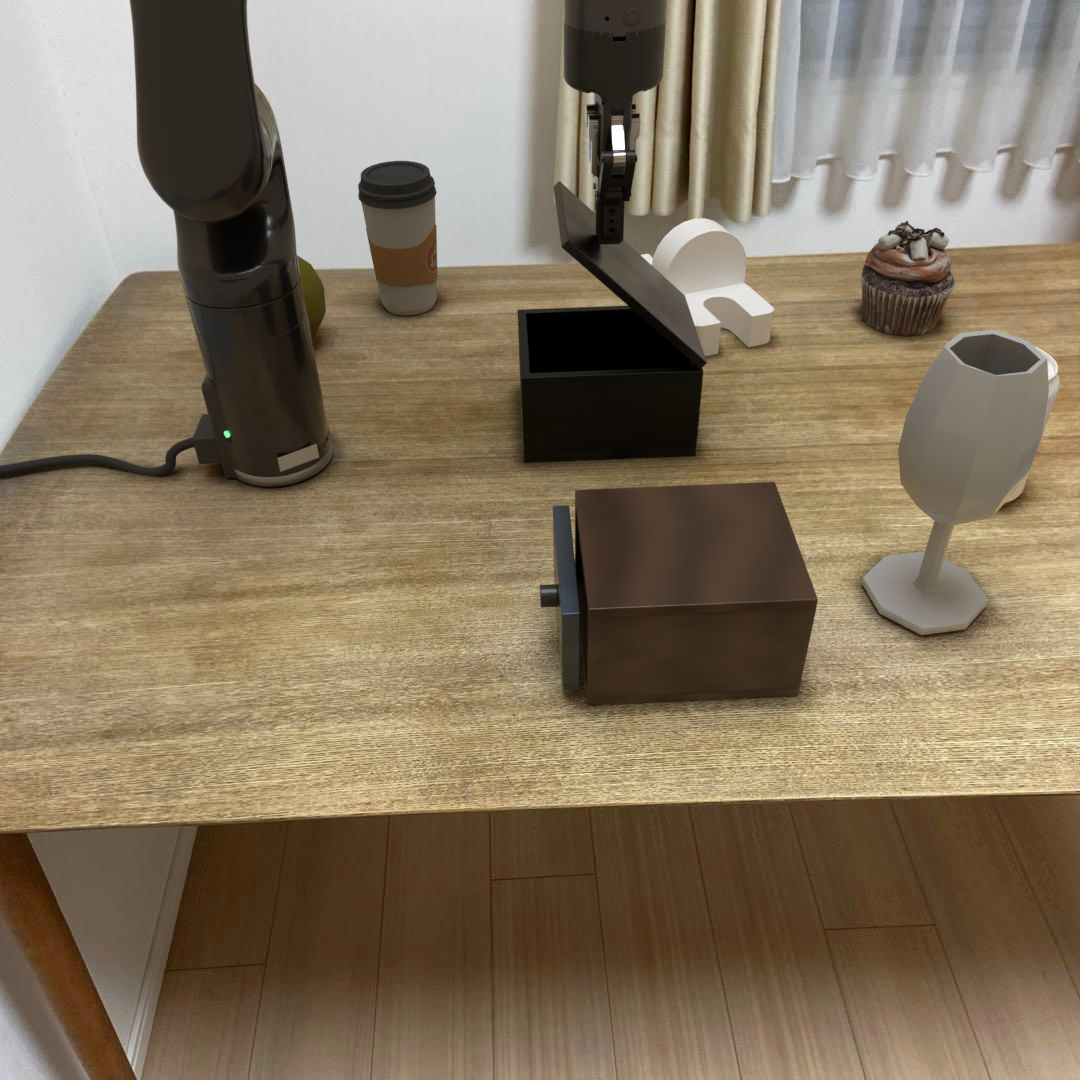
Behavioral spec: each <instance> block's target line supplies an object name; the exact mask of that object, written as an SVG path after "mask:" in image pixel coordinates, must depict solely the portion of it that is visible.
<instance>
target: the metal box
mask: <svg viewBox="0 0 1080 1080" xmlns="http://www.w3.org/2000/svg"><path fill="white" fill-rule="evenodd" d="M516 311H517V332H518V333H517V334H518V337H517V338H518V360H519V362H518V363H519V387H520V408H521V409H520V410H521V426H522V448H523V449H522V450H523V463H543V462H570V461H595V460H619V459H621V460H622V459H642V458H643V459H645V458H666V457H669V458H670V457H692V456H696V454H697V445H698V432H699V425H700V423H699V422H700V413H701V404H702V403H701V401H702V390H703V379H704V369H703V368H704V367H702V368H701V369H700V368H699V367H698V366H696V365H695V364H694V363H693V362H692V361H691V360H690V359H688V358H687V357H686V356H685V355H684V354H683V353H682V352H680V351H679V350H678V349H677V348H676V347H675V346H674V345H672V344H671V343H670V342H669V341H668V340H667V339H666V338H665V337H663V336H662V335H661V334H660V333H659V332H658V331H657V330H655V329H654V328H653V327H652V326H651V325H650V324H649V323H647V322H646V321H645V320H644V319H643V318H642V317H641V316H639V315H638V314H637V313H636V312H635V311H634V310H633V309H631V308H630V307H629V306H628V305H627V304H626V305H605V306H603V305H602V306H579V307H578V306H577V307H552V308H551V307H550V308H548V307H547V308H527V309H526V308H525V309H517V310H516Z"/></svg>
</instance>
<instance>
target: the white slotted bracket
mask: <svg viewBox="0 0 1080 1080" xmlns="http://www.w3.org/2000/svg"><path fill="white" fill-rule="evenodd" d="M640 255H641V256H642V257H643V258H644V259H645V260H646V261H648V262H649V263H650V264H651V265H652V266H653V267H654V268H655V269H656V270H657V271H658V272H660V273H661V274H662V275H663V276H664V277H665V278H666V279H667V280H668V281H669V282H670V283H672V284H673V285H674V286H675V287H676V288H677V289H678V290H679V291H680V292H681V293H682V294H684V295H685V298H686V301H687V304H688V307H689V310H690V313H691V316H692V319H693V322H694V325H695V328H696V331H697V334H698V337H699V340H700V343H701V346H702V349H703V352H704V355H705V357H709V356H710V357H711V356H714V355H718V354H719V347H720V337H721V329H726V330H728V331H730V332H731V333H733V334H734V335H735V336H736V337H737V338H738V339H739V340H740V341H741V342H742V343H743V344H744V345H745V346H746V347H747V348H753V347H758V346H763V345H766V344H768V343H769V342H770V340H771V332H772V326H773V319H774V318H773V317H774V311H775V309H774V306H772V305H771V304H770V303H769V302H768V301H766V300H765V299H764V297H762V296H761V295H760V294H759V293H757V292H756V291H755V290H754V289H753V288H752V287H750V286H749V285H748V284H747V283H745V282H746V273H747V255H746V251H745V247H744V246H743V244H742V242H741V241H740V240H739V239H738V238H737V237H736V236H735V235H734V234H732V232H730V231H729V230H727V229H726V228H725V227H724V226H722V225H721V224H720V223H718V222H717V221H715V220H712V219H709V218H706V217H705V218H704V217H703V218H701V217H700V218H692V219H689V220H685V221H683V222H681V223H679V224H678V225H676V226H675V227H672V229H671V230H670V231H669V232H668V233H667V234H666V235H664V237H663V238H662V240H660V243H659V244H658V245H657V248H656V250H655V252H654V254H653V257H652V255H650V254H649V253H644V254H640Z"/></svg>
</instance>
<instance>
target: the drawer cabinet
mask: <svg viewBox="0 0 1080 1080" xmlns="http://www.w3.org/2000/svg"><path fill="white" fill-rule="evenodd" d="M574 558H575V568H576V578H577V588H578V597H579V607H580V651H581V660H582V669H583V679H584V688H585V700H586V705H587V706H598V705H600V706H601V705H621V704H640V703H641V704H643V703H645V704H646V703H666V702H688V701H708V700H709V701H711V700H731V699H753V698H776V697H797V696H799V693H800V689H801V683H802V678H803V674H804V669H805V664H806V659H807V654H808V651H809V645H810V640H811V636H812V631H813V627H814V622H815V617H816V612H817V607H818V603H819V598H818V595H817V593H816V590H815V588H814V587H815V586H814V584H813V582H812V580H811V579H812V578H811V576H810V573H809V571H808V568H807V566H806V563H805V560H804V558H803V555H802V552H801V549H800V547H799V544H798V541H797V538H796V535H795V533H794V529H793V527H792V524H791V522H790V519H789V517H788V513H787V512H786V508H785V506H784V503H783V500H782V498H781V495H780V491H779V489H778V487H777V484H776V482H775V481H760V482H759V481H757V482H739V483H737V482H736V483H735V482H734V483H713V484H711V483H709V484H687V485H665V486H664V485H663V486H661V485H660V486H638V487H615V488H613V487H612V488H611V487H610V488H589V489H587V488H586V489H575V491H574Z"/></svg>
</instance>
